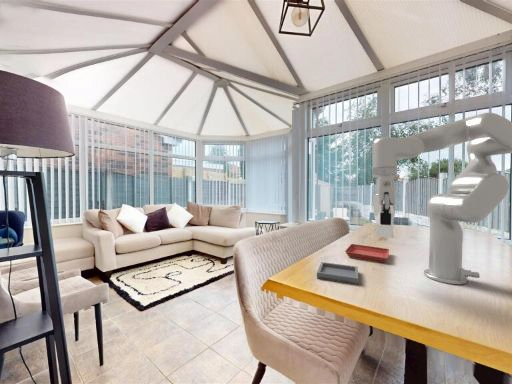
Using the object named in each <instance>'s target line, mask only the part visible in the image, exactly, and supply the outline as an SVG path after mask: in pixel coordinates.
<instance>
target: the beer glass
mask: <svg viewBox="0 0 512 384" xmlns="http://www.w3.org/2000/svg"><path fill="white" fill-rule="evenodd" d="M389 201H390V199H389ZM396 203H397V202H396V200H395V205H393V204H391V201H390V208H391V225H381V224H380V213H381V205H380V204H379V201H378V194H376V193H374V194H373V204H372V205H373V207H372V208H373V216H374V221H375V231H374V236H375V237H378V238H385V239H386V238H388V239H389V238H390V239H391V238H394V237H395V235H394V230H393V227H394V225H393V224H394V219H395V215H396V209H397V208H396V207H397V205H396ZM382 204H385V201H384V199H383V200H382ZM383 207H384V206H383Z"/></svg>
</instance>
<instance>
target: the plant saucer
mask: <svg viewBox="0 0 512 384" xmlns="http://www.w3.org/2000/svg"><path fill="white" fill-rule="evenodd" d="M344 252H345V253H346V255H347V256H348V257H349V258H352V259H357V260H358V259H359V260H365V261H370V262H371V261H372V262H377V263H385V262H386V261H387V260H388V258H389V254H390V249H389V248H385V247H378V246H377V247H376V246H371V245H364V244H363V245H362V244H355V243H351V244H350V245H349V246H348V247H347V248H346V249H345V250H344Z"/></svg>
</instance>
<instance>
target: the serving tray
mask: <svg viewBox="0 0 512 384" xmlns="http://www.w3.org/2000/svg"><path fill="white" fill-rule="evenodd" d="M316 279H319V280H324V281H325V280H326V281H331V282H337V283H342V284H343V283H345V284H348V285H349V284H350V285H355V286H356V285H357V286H359V268H358V266H356V265H355V266H354V265H348V264H340V263H332V262H325V261H320V264H319V266H318V269H317V272H316Z"/></svg>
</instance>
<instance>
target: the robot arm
mask: <svg viewBox="0 0 512 384" xmlns="http://www.w3.org/2000/svg"><path fill="white" fill-rule="evenodd" d="M372 143H373V144H372V178H376V179H375V180H376V183H375V185H376V186H375V187H376V188H375V189H376V193H375V194H378V201H379V204H380V205H381V213H380V224H381V225H391V208H390V201H391V204H393V205H395V201H396V186H395V185H396V184H395V178H397V177H398V161H400V160H409V159H413V158H417V157H418V156H420V155H421V154H424V153H430V152H436V151H440V150H441V151H442V150H444V149H448V148H450V147H455V146H456V145H457V146H458V145H460V144H463V143H467V144H466V153H467V158H468V162H467V163H468V164H467V165H466V166H465V168H463V170H462V171H461V172H460V173H459V174H458V175H457V176H456V177H455V178H454V179H453V180H452V181H451V183H450V184H449V186H448V192H449V193H448V192H447V193H445V192H444V193H437V194H434V195H432V196H431V197H430V198H429V199H428V201H427V204H426V209H427V213H428V218H429V247H428V248H429V249H428V251H429V252H428V253H429V254H428V268H426V269H424V270H423V275H424V276H425V277H427V278H429V279H431V280H434V281H437V282H440V283H444V284H451V285H466V284H467V283H468V277H470V278H473V279H474V278H476V279H480V277H481V275H480V273H479V272H478V271H472V270H471V269H470V270H469V269H465V268H463V243H464V242H463V241H464V240H463V239H464V233H463V228H462V225H461V224H460V222H461V223H462V222H463V223H469V224H470V223H471V224H472V223H479V222H482V221H483V220H485V219H486V218H487V217H488V216H489V215H490V214H491V213H492V212H493V211H494V210H495V209H496V208H497V206H499V204H500V203H501V202H502V201H503V200H504V199H505V198H506V197H507V194H508V192H509V188H510V186H509V185H510V184H509V181H508V179H507V177H506V176H504V175H503V174H501V173H497V166H496V164H495V163H494V161H493V159H492V157H491V156H498V155H505V154H506V155H507V154H512V121H511V120H509V119H507V118H506V117H504V116H502V115H500V114H497V113H494V112H484V113H479V114H475V115H473V116H469V117H465V118H462V119H458V120H454V121H452V122H448V123H444V124H441V125H437V126H435V127H432V128H427V129H426V130H423V131H420V132H417V133H414V134H411V135H409V136H405V137H404V136H403V137H393V136H385V137H379V138H375V140H373V142H372ZM383 199H384V201H385V204H382V200H383ZM389 199H390V201H389ZM383 206H384V207H383Z"/></svg>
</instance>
